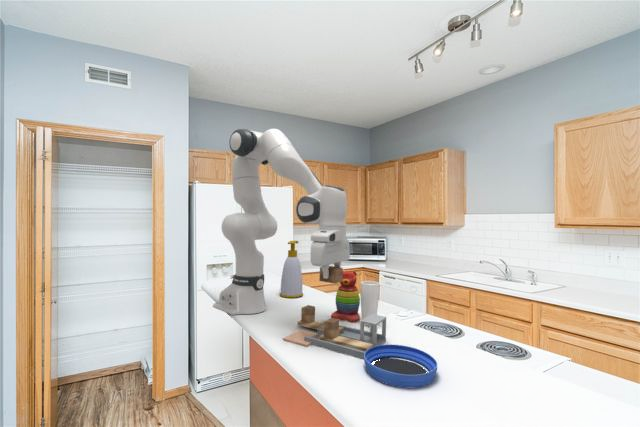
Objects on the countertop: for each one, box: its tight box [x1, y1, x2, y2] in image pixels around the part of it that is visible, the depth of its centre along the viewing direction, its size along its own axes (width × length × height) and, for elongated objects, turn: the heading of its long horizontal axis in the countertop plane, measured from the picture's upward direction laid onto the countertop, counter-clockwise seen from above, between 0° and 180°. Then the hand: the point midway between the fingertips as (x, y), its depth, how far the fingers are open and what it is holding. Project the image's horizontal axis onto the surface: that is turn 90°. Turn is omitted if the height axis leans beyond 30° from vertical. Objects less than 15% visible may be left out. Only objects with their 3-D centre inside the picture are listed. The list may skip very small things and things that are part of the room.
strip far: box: [297, 304, 344, 334], centre depth 111 cm, size 16×4×6 cm, turn 58°
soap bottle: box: [279, 240, 304, 299], centre depth 159 cm, size 11×12×26 cm
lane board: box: [304, 314, 387, 360], centre depth 102 cm, size 20×16×8 cm
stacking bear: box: [330, 270, 361, 323], centre depth 127 cm, size 11×10×18 cm
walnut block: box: [319, 265, 344, 284], centre depth 108 cm, size 6×4×4 cm
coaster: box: [282, 330, 320, 348], centre depth 103 cm, size 9×9×1 cm
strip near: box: [319, 317, 374, 352], centre depth 98 cm, size 16×4×6 cm, turn 58°
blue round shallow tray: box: [363, 343, 438, 388], centre depth 84 cm, size 18×18×4 cm
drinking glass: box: [359, 280, 380, 327], centre depth 120 cm, size 7×7×15 cm
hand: (331, 276), depth 108 cm, fingers closed on walnut block, 4 cm apart
